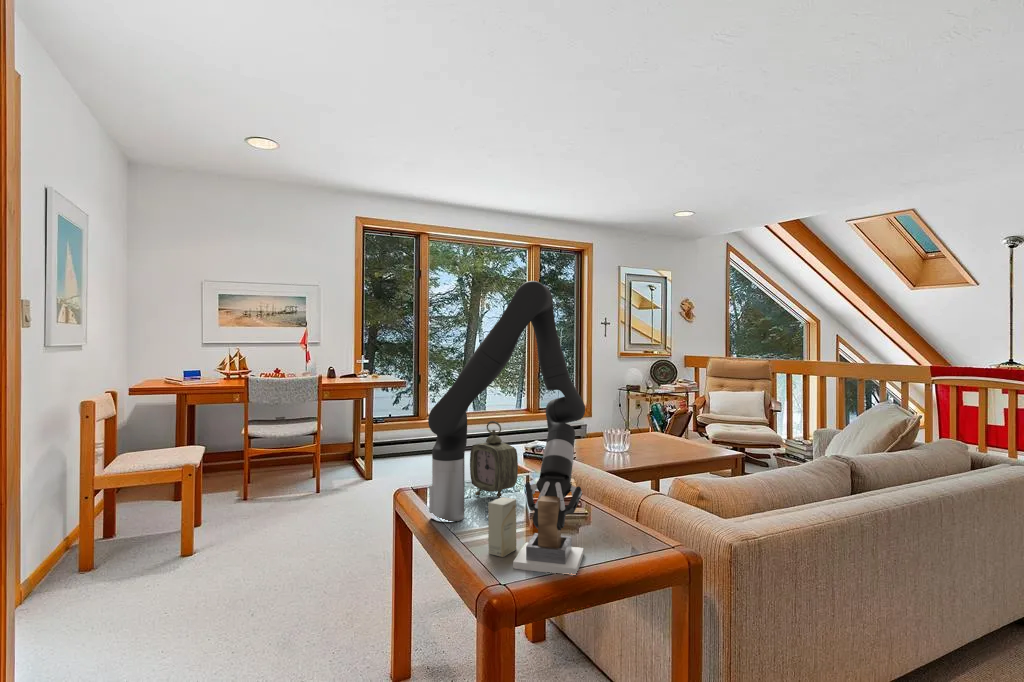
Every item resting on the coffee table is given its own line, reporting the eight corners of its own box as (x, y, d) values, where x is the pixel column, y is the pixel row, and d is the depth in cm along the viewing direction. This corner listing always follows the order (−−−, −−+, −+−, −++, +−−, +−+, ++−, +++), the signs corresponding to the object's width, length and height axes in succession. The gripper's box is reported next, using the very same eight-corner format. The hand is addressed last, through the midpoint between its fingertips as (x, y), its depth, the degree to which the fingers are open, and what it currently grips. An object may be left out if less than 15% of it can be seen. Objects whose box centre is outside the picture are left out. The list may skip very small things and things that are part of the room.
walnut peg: (538, 549, 117) (537, 500, 117) (542, 542, 122) (542, 495, 122) (557, 551, 116) (557, 502, 116) (560, 544, 120) (560, 496, 120)
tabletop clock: (469, 496, 171) (469, 420, 171) (490, 491, 177) (490, 417, 177) (498, 506, 160) (498, 425, 160) (520, 500, 166) (520, 422, 166)
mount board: (512, 568, 115) (512, 548, 115) (526, 548, 126) (526, 529, 126) (576, 575, 111) (576, 554, 111) (583, 554, 123) (583, 535, 123)
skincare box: (503, 558, 121) (503, 505, 121) (487, 554, 123) (487, 502, 123) (517, 549, 126) (517, 498, 126) (501, 545, 128) (501, 496, 128)
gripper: (526, 452, 128) (514, 517, 116) (584, 455, 124) (577, 522, 113) (532, 469, 133) (520, 532, 121) (587, 472, 129) (581, 538, 118)
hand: (547, 527), depth 117 cm, fingers closed on walnut peg, 4 cm apart
